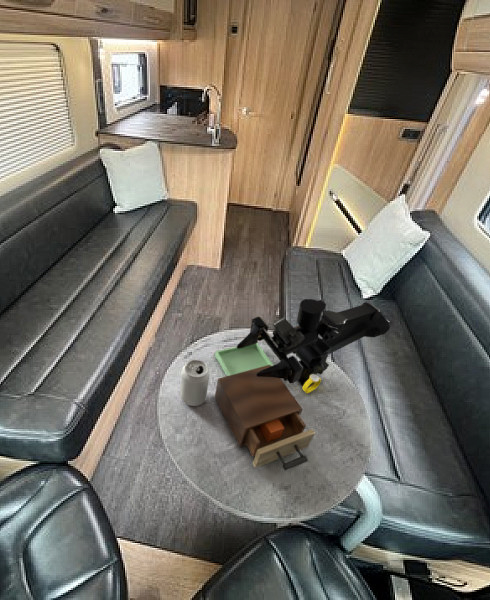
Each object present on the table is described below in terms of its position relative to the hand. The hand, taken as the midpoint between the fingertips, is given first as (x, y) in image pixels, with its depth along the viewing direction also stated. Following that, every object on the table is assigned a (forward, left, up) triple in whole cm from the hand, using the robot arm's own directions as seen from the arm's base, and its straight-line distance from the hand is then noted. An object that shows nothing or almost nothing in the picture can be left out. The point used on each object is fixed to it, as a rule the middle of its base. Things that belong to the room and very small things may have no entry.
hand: (246, 360), depth 80 cm
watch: (-23, +3, -17) cm, 29 cm away
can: (+11, -6, -17) cm, 21 cm away
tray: (-9, -13, -17) cm, 24 cm away
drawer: (-3, +13, -16) cm, 21 cm away
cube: (-3, +12, -15) cm, 20 cm away
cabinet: (-3, +4, -17) cm, 18 cm away
